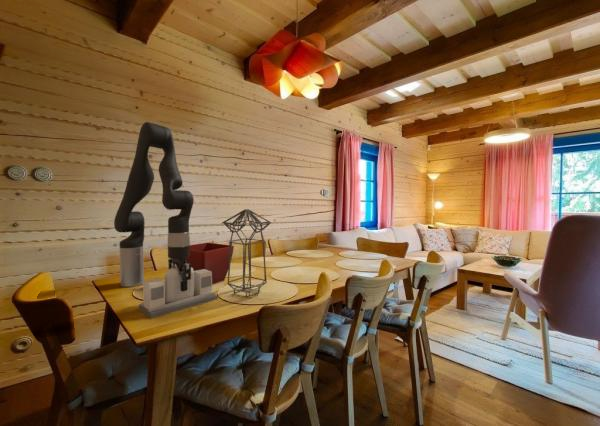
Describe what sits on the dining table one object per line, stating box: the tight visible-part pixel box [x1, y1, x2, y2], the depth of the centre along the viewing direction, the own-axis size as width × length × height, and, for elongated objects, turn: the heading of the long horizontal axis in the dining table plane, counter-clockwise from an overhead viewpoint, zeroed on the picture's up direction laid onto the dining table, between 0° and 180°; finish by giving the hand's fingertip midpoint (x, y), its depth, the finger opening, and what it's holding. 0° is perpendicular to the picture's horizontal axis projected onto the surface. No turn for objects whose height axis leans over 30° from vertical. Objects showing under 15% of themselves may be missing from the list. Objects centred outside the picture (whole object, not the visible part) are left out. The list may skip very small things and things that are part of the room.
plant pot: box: [186, 242, 235, 285], centre depth 133 cm, size 19×19×17 cm
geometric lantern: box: [220, 208, 272, 298], centre depth 115 cm, size 16×16×35 cm
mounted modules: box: [142, 269, 213, 309], centre depth 104 cm, size 6×23×9 cm, turn 137°
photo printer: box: [164, 267, 194, 303], centre depth 104 cm, size 10×4×12 cm, turn 126°
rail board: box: [138, 290, 218, 319], centre depth 105 cm, size 12×24×2 cm, turn 137°
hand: (179, 288), depth 104 cm, fingers open, 6 cm apart
